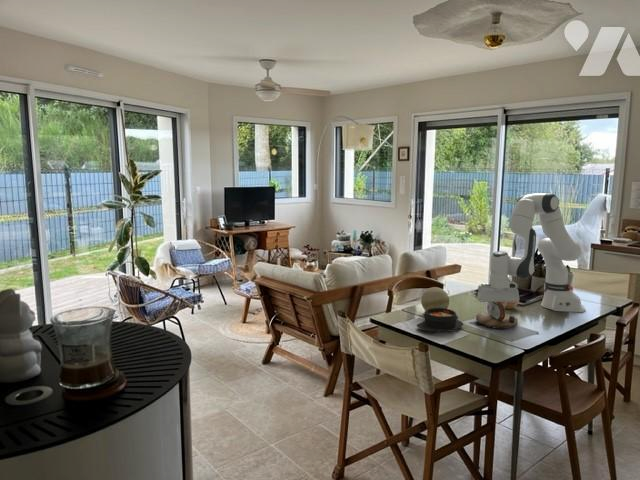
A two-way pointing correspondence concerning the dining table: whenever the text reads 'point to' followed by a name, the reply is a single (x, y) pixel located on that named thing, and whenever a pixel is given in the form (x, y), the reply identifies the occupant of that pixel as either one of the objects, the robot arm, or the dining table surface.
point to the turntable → (490, 321)
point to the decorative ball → (434, 298)
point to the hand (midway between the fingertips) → (497, 309)
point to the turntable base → (498, 327)
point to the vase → (510, 304)
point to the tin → (496, 311)
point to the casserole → (440, 320)
